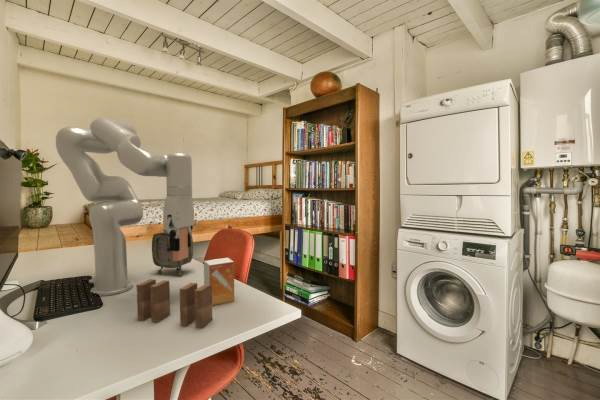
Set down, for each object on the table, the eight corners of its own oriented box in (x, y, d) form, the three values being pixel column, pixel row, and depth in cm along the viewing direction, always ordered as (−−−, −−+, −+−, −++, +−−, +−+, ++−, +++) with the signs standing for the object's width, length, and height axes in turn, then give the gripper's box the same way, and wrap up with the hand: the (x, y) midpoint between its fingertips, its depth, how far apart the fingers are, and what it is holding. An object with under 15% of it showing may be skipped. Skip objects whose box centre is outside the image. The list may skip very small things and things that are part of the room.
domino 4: (180, 325, 77) (179, 288, 76) (191, 317, 82) (190, 282, 81) (187, 326, 77) (186, 289, 76) (198, 318, 81) (197, 283, 81)
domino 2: (151, 322, 79) (150, 286, 79) (164, 314, 84) (163, 280, 83) (157, 322, 79) (156, 286, 78) (170, 314, 84) (169, 280, 83)
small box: (209, 307, 89) (208, 265, 88) (204, 300, 94) (203, 260, 93) (235, 301, 93) (234, 261, 92) (228, 294, 98) (227, 256, 98)
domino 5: (195, 327, 76) (194, 290, 75) (205, 319, 81) (205, 283, 80) (202, 328, 75) (201, 291, 75) (212, 319, 80) (211, 284, 80)
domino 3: (173, 260, 92) (172, 229, 91) (183, 256, 96) (182, 226, 96) (178, 261, 91) (177, 229, 91) (188, 257, 96) (187, 227, 95)
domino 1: (137, 320, 80) (136, 284, 80) (151, 312, 85) (149, 279, 84) (143, 321, 80) (142, 285, 79) (156, 313, 85) (155, 279, 84)
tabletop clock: (152, 274, 121) (150, 214, 119) (168, 268, 129) (166, 212, 128) (181, 277, 116) (180, 215, 115) (196, 271, 125) (194, 213, 124)
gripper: (185, 191, 102) (186, 242, 103) (150, 193, 85) (151, 254, 86) (204, 191, 100) (205, 244, 101) (172, 193, 83) (173, 255, 85)
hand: (180, 248), depth 94 cm, fingers closed on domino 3, 4 cm apart
